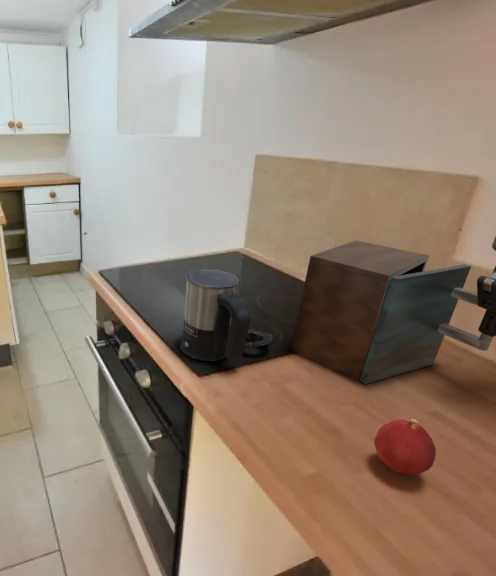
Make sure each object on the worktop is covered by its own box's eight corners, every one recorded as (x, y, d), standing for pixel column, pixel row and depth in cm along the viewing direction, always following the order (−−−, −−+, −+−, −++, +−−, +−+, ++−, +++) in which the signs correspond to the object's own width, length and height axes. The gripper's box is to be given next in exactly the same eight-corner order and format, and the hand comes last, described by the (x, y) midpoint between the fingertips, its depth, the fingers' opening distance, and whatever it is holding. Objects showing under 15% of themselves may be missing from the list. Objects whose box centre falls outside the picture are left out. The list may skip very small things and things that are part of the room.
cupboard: (397, 349, 73) (429, 255, 66) (357, 381, 64) (389, 275, 56) (333, 325, 82) (355, 240, 75) (290, 350, 73) (310, 255, 65)
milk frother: (169, 347, 73) (174, 276, 68) (216, 322, 83) (223, 257, 77) (235, 381, 64) (247, 300, 58) (279, 347, 73) (293, 276, 68)
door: (477, 386, 62) (525, 280, 55) (406, 410, 57) (449, 296, 50) (427, 361, 69) (464, 264, 62) (359, 381, 63) (391, 276, 56)
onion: (374, 444, 51) (391, 396, 48) (428, 470, 47) (450, 419, 44) (362, 469, 47) (379, 418, 44) (419, 499, 43) (443, 446, 40)
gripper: (547, 231, 46) (491, 353, 53) (610, 223, 50) (551, 337, 57) (475, 218, 52) (434, 328, 59) (537, 212, 56) (491, 315, 63)
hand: (492, 332), depth 58 cm, fingers closed
